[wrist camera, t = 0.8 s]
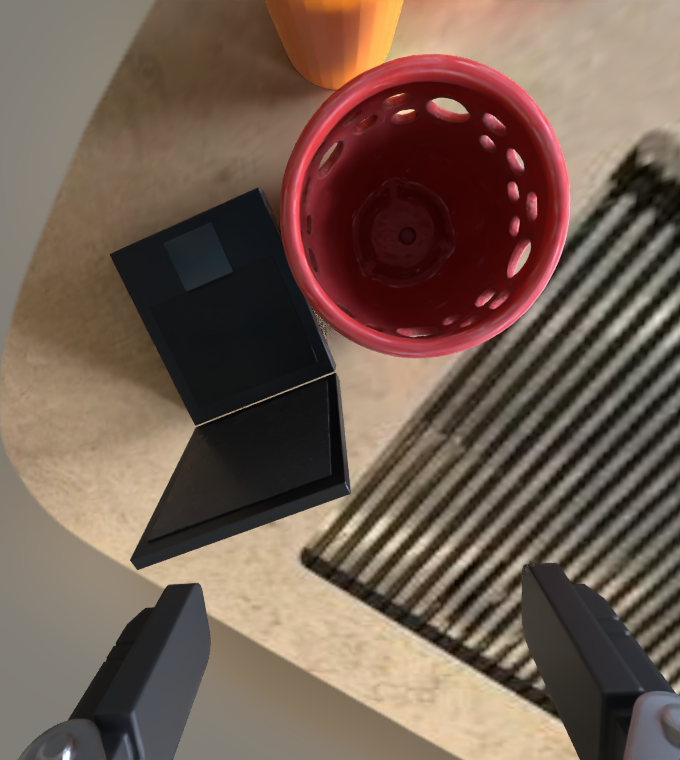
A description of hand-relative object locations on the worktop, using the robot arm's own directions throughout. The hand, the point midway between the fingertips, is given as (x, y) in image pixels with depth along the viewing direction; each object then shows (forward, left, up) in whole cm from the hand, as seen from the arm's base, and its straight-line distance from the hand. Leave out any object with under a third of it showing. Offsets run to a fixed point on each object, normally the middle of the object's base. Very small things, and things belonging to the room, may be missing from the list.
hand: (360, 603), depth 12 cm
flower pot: (-8, +7, -24) cm, 26 cm away
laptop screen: (0, -6, -16) cm, 17 cm away
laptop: (-8, -6, -24) cm, 26 cm away
